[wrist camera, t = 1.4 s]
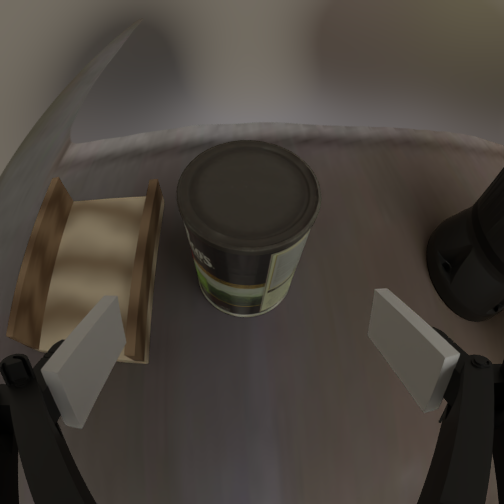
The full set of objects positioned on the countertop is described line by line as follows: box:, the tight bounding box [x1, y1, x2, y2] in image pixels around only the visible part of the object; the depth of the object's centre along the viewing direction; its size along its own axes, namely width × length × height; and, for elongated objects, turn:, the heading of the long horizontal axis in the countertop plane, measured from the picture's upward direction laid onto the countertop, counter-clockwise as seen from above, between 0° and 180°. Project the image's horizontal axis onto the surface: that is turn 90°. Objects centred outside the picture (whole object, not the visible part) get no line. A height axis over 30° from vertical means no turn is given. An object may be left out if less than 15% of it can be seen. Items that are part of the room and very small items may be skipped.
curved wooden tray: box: [6, 177, 165, 364], centre depth 30 cm, size 20×14×6 cm
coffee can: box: [177, 140, 321, 317], centre depth 27 cm, size 10×10×14 cm
